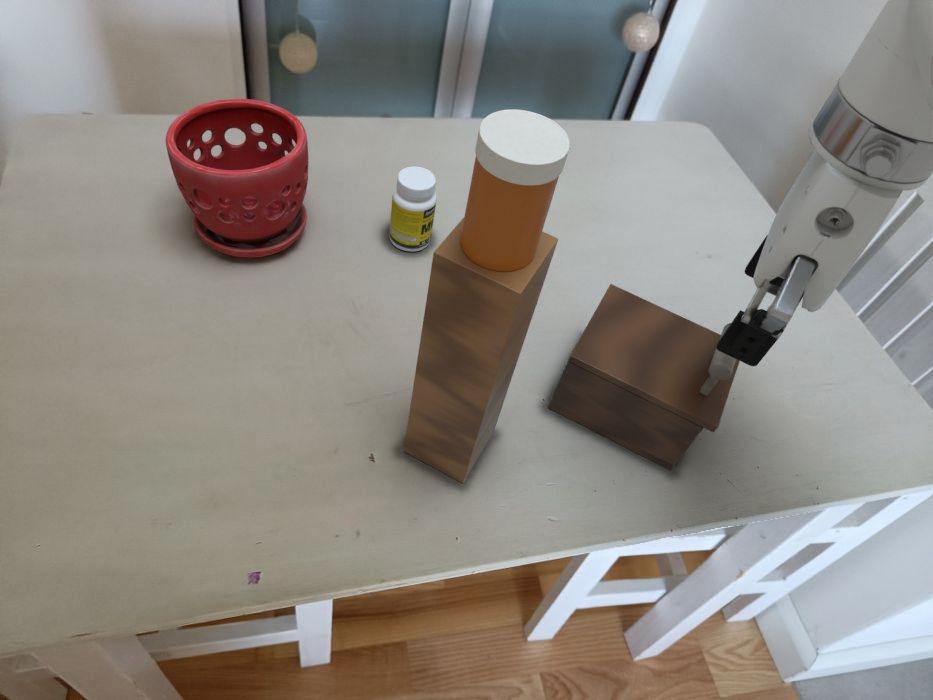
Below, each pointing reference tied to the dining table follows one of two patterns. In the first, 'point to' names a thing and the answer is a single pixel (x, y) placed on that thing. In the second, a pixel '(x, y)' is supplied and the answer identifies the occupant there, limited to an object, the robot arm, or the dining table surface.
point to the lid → (657, 357)
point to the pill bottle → (512, 187)
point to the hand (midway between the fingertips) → (749, 315)
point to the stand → (469, 352)
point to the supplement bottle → (413, 209)
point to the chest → (623, 416)
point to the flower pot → (242, 176)
